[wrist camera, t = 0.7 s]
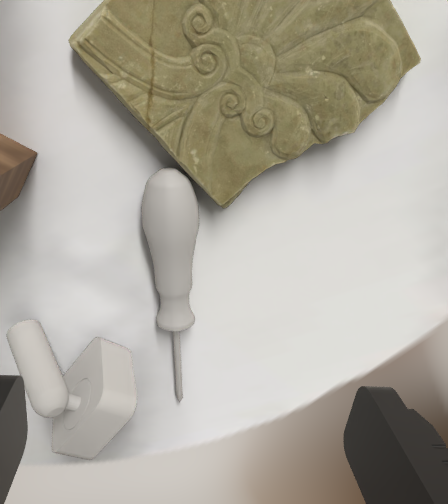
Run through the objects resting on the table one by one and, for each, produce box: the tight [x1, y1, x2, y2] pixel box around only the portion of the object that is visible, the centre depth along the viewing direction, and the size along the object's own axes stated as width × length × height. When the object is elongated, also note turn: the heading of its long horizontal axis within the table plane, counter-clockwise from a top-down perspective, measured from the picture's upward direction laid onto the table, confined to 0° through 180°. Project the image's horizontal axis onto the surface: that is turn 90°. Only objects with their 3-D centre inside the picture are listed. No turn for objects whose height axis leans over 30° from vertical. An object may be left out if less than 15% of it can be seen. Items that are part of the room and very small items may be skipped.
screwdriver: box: [141, 168, 199, 402], centre depth 40 cm, size 5×25×4 cm, turn 179°
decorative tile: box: [69, 0, 421, 208], centre depth 32 cm, size 19×20×4 cm
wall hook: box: [6, 320, 137, 460], centre depth 38 cm, size 8×10×10 cm
